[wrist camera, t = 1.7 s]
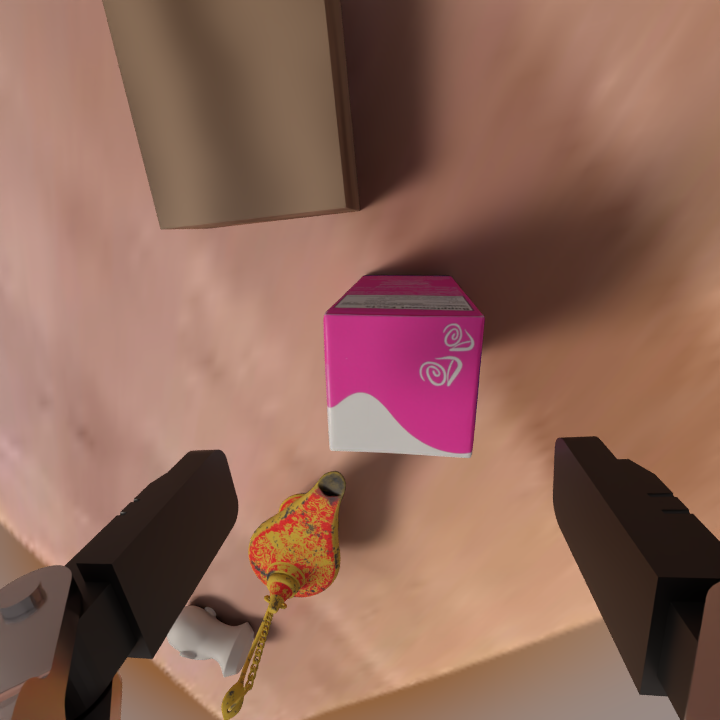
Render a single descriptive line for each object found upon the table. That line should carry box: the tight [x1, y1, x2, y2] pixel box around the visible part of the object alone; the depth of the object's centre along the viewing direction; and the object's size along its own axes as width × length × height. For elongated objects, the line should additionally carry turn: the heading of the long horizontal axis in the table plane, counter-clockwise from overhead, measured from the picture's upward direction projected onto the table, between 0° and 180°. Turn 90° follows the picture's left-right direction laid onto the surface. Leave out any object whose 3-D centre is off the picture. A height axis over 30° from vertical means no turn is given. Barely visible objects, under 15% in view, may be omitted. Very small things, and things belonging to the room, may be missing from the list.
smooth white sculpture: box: [167, 605, 254, 677], centre depth 36 cm, size 4×8×5 cm
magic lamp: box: [222, 471, 346, 720], centre depth 25 cm, size 7×18×11 cm, turn 157°
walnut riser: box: [102, 0, 360, 229], centre depth 20 cm, size 10×10×5 cm
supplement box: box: [324, 275, 485, 458], centre depth 19 cm, size 6×6×12 cm
